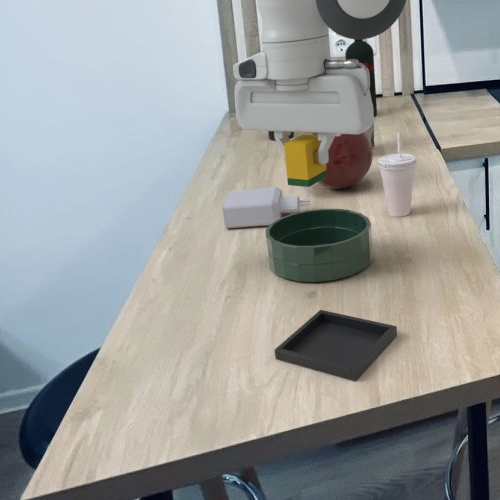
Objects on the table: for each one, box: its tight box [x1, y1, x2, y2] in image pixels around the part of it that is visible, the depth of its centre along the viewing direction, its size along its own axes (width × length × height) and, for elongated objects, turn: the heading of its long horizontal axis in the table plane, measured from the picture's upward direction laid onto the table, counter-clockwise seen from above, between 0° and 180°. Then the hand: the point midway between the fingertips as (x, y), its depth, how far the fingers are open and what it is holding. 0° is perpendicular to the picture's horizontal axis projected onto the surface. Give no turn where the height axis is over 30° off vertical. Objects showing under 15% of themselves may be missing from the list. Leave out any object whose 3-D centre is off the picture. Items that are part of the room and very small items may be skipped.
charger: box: [222, 186, 311, 229], centre depth 118 cm, size 5×9×15 cm
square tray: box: [273, 309, 398, 382], centre depth 75 cm, size 10×10×2 cm
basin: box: [265, 208, 374, 283], centre depth 97 cm, size 15×15×6 cm
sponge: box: [284, 134, 327, 188], centre depth 92 cm, size 4×5×6 cm
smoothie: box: [377, 132, 418, 218], centre depth 110 cm, size 6×6×14 cm
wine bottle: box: [344, 39, 378, 118], centre depth 181 cm, size 8×10×30 cm
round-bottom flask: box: [310, 132, 374, 190], centre depth 126 cm, size 13×13×20 cm
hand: (306, 162), depth 92 cm, fingers closed on sponge, 3 cm apart
